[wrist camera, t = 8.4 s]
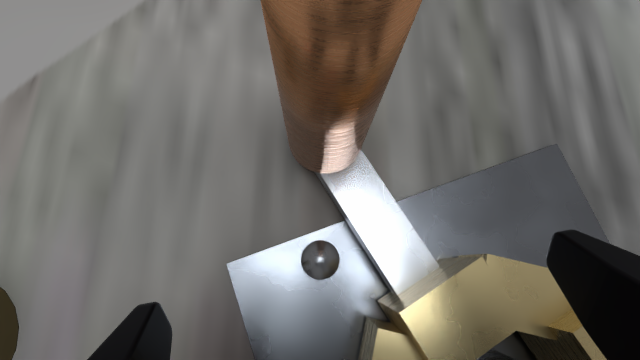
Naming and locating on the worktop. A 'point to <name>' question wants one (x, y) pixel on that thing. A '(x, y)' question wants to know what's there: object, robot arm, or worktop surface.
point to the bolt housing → (438, 236)
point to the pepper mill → (7, 327)
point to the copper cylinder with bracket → (380, 207)
